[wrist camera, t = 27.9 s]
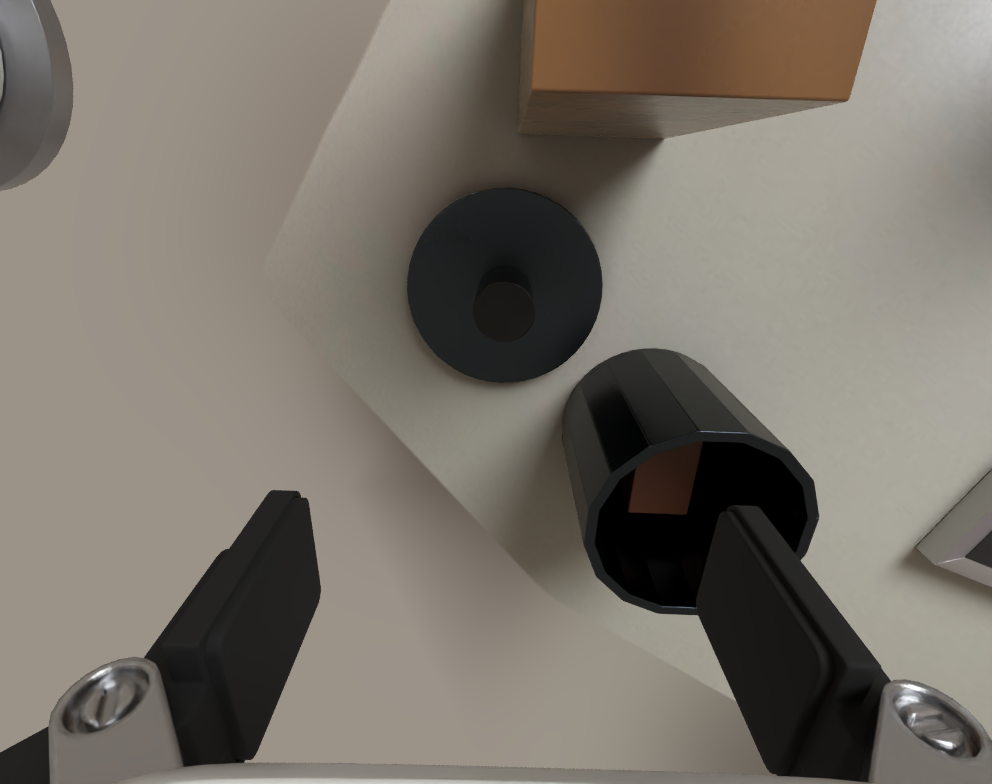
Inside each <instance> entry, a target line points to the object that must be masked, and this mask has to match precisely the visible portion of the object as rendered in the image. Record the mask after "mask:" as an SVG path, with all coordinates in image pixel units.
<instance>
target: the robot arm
mask: <svg viewBox="0 0 992 784" xmlns="http://www.w3.org/2000/svg"><path fill="white" fill-rule="evenodd" d="M3 82H4V70H3V61H2V53H1V49H0V101H1V98H2V95H3ZM320 593H321V586H320V578H319V571H318V565H317V557H316V550H315V543H314V536H313V529H312V522H311V516H310V508H309V502H308V499H307V498H301V495H300V493H299V492H298V491H282V490H272V491H270V492H269V493H268V495H267V496H266V497H265V499H264V500H263V502H262V503H261V504H260V506H259V507H258V509H257V510H256V511H255V513H254V514H253V516H252V517H251V519H250V520H249V521H248V523H247V524H246V526H245V527H244V528H243V530H242V532H241V533H240V534H239V536H238V537H237V538H236V540H235V541H234V543H233V544H232V546H231V547H230V548H229V549H226V550H224V551H222V552H221V553H220V554H219V555H218V556H217V557H216V559H215V560H214V562H213V563H212V564H211V566H210V567H209V569H208V570H207V571H206V572H205V574H204V575H203V577H202V578H201V579H200V581H199V582H198V584H197V585H196V586H195V588H194V589H193V590H192V592H191V593H190V595H189V596H188V597H187V599H186V600H185V602H184V603H183V604H182V606H181V607H180V608H179V610H178V611H177V613H176V614H175V615H174V617H173V618H172V620H171V621H170V622H169V624H168V625H167V627H166V628H165V629H164V631H163V632H162V633H161V635H160V636H159V638H158V639H157V640H156V642H155V643H154V645H153V646H152V647H151V649H150V650H149V651H148V653H147V654H146V656H145V657H144V658H138V657H132V658H125V659H119V660H116V661H113V662H110V663H108V664H105V665H102V666H100V667H99V668H97V669H95V670H93V671H91V672H90V673H88V674H86V675H85V676H84V677H82V678H81V679H80V680H79V681H77V682H76V683H75V684H73V685H72V686H71V687H70V688H69V689H68V690H67V691H66V693H64V695H63V696H62V697H61V698H60V699H59V701H58V702H57V704H56V706H55V707H54V709H53V711H52V712H51V716H50V721H49V726H48V727H46V728H45V729H43V730H41V731H39V732H37V733H36V734H34V735H32V736H30V737H28V738H26V739H24V740H23V741H21V742H19V743H17V744H15V745H13V746H11V747H10V748H8V749H6V750H4V751H2V752H0V784H992V740H991V738H990V737H989V735H988V734H987V732H986V731H985V729H984V728H983V726H982V725H981V724H980V723H979V722H978V720H977V719H976V718H975V717H974V716H973V715H972V714H971V713H970V712H969V711H968V710H966V709H965V708H964V707H963V706H961V705H960V704H959V703H958V702H956V701H955V700H954V699H952V698H951V697H949V696H947V695H945V694H944V693H942V692H940V691H939V690H937V689H935V688H932V687H930V686H927V685H925V684H923V683H920V682H915V681H910V680H893V681H891V680H890V679H889V678H888V677H887V675H886V674H885V673H884V671H883V670H882V669H881V665H880V664H879V663H878V661H877V660H876V659H875V658H874V656H873V655H872V654H871V652H870V651H869V650H868V648H867V647H866V646H865V645H864V643H863V642H862V641H861V639H860V638H859V637H858V635H857V634H856V633H855V631H854V630H853V629H852V628H851V626H850V625H849V624H848V622H847V621H846V620H845V618H844V617H843V616H842V614H841V613H840V612H839V611H838V609H837V608H836V607H835V605H834V604H833V603H832V601H831V600H830V599H829V598H828V596H827V595H826V594H825V592H824V591H823V590H822V588H821V587H820V586H819V584H818V583H817V582H816V581H815V579H814V578H813V577H812V575H811V574H810V573H809V571H808V570H807V569H806V567H805V566H804V565H803V564H802V562H801V561H800V560H799V558H798V557H797V556H796V554H795V553H794V552H793V551H792V549H791V548H790V547H789V545H788V544H787V543H786V541H785V540H784V539H783V537H782V536H781V535H780V534H779V532H778V531H777V530H776V528H775V527H774V526H773V524H772V523H771V522H770V520H769V519H768V518H767V517H766V515H765V514H764V513H763V511H762V510H761V509H760V508H759V507H757V506H739V505H731V506H729V507H728V508H727V510H726V512H725V511H723V512H721V513H720V514H719V517H718V521H717V524H716V528H715V532H714V535H713V539H712V543H711V546H710V550H709V554H708V557H707V561H706V565H705V569H704V572H703V576H702V580H701V583H700V587H699V591H698V594H697V599H696V608H697V613H698V616H699V618H700V620H701V623H702V625H703V627H704V629H705V632H706V634H707V636H708V638H709V641H710V643H711V645H712V647H713V650H714V652H715V654H716V656H717V659H718V661H719V663H720V665H721V668H722V670H723V672H724V674H725V677H726V679H727V681H728V683H729V686H730V688H731V690H732V692H733V694H734V697H735V699H736V701H737V703H738V706H739V708H740V710H741V712H742V715H743V717H744V719H745V721H746V724H747V726H748V728H749V730H750V732H751V735H752V737H753V739H754V742H755V744H756V746H757V748H758V751H759V753H760V755H761V757H762V760H763V762H764V764H765V766H766V768H767V769H768V770H769V772H770V773H772V774H777V776H770V775H751V774H750V775H749V774H724V773H692V772H662V771H631V770H600V769H599V770H598V769H561V768H527V767H489V766H488V767H486V766H448V765H447V766H445V765H401V764H399V765H398V764H353V763H244V761H245V760H251V759H253V758H254V756H255V755H256V753H257V751H258V748H259V746H260V744H261V741H262V739H263V737H264V734H265V732H266V729H267V727H268V725H269V722H270V720H271V717H272V715H273V712H274V710H275V707H276V705H277V702H278V700H279V698H280V695H281V693H282V690H283V688H284V686H285V683H286V681H287V678H288V676H289V674H290V671H291V669H292V666H293V664H294V661H295V659H296V657H297V654H298V652H299V649H300V647H301V644H302V642H303V640H304V637H305V635H306V632H307V630H308V627H309V625H310V622H311V620H312V618H313V615H314V613H315V610H316V608H317V606H318V603H319V599H320Z"/></svg>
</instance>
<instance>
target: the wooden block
mask: <svg viewBox="0 0 992 784" xmlns="http://www.w3.org/2000/svg"><path fill="white" fill-rule="evenodd" d="M876 1H877V0H524V4H523V27H522V49H521V72H520V95H519V118H518V133H519V134H540V135H569V136H599V137H628V138H657V139H665V138H670V137H675V136H680V135H685V134H690V133H695V132H700V131H705V130H710V129H714V128H719V127H724V126H729V125H734V124H739V123H744V122H749V121H754V120H759V119H764V118H769V117H774V116H779V115H783V114H788V113H793V112H798V111H803V110H808V109H813V108H818V107H823V106H828V105H833V104H838V103H843V102H846V101H848V100H849V98H850V95H851V91H852V88H853V84H854V80H855V77H856V73H857V69H858V66H859V62H860V59H861V55H862V51H863V48H864V44H865V41H866V37H867V33H868V30H869V26H870V22H871V19H872V15H873V12H874V8H875V4H876Z"/></svg>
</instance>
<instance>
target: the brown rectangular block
mask: <svg viewBox="0 0 992 784" xmlns="http://www.w3.org/2000/svg"><path fill="white" fill-rule="evenodd" d="M702 445H703V441H698V442H695V443H692V444H688V445H685V446H682V447H678V448H675V449H672V450H668V451H665V452H661V453H658V454H655V455H654V456H652V457H651V458H649V459H648V460H647V461H645V462H644V463H642V464H641V465H640V466H638V467H637V468H635V469H634V470H633V471H631V472H630V473H628V474H627V475H626V476H624V477H623V478H621V479H620V480H619V482H618V485H619V488H620V491H621V494H622V497H623V499H624V502H625V505H626V508H627V511H628V512H629V513H653V514H679V515H686V514H687V511H688V506H689V502H690V497H691V493H692V489H693V484H694V480H695V476H696V471H697V467H698V462H699V458H700V454H701V449H702Z"/></svg>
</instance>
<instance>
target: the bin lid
mask: <svg viewBox="0 0 992 784" xmlns="http://www.w3.org/2000/svg"><path fill="white" fill-rule="evenodd" d="M407 290H408V300H409V305H410V309H411V314H412V316H413V319H414V322H415V324H416V327H417V328H418V330H419V332H420V334H421V336H422V338H423V339H424V340H425V342H426V343H427V345H428V346H429V347H430V348H431V349H432V350H433V352H434V353H435V354H436V355H437V356H438V357H439V358H441V359H442V360H443V361H444V362H445V363H447V364H448V365H450V366H451V367H453V368H454V369H456V370H458V371H460V372H462V373H464V374H466V375H468V376H471V377H474V378H477V379H480V380H485V381H490V382H500V383H505V382H519V381H525V380H529V379H532V378H536V377H539V376H541V375H543V374H546V373H548V372H550V371H552V370H553V369H555V368H557V367H558V366H560V365H561V364H563V363H564V362H565V361H567V360H568V359H569V358H570V357H571V356H572V355H573V354H574V353H575V352H576V351H577V350H578V349H579V348H580V346H581V345H582V344H583V343H584V341H585V340H586V338H587V337H588V335H589V333H590V332H591V330H592V328H593V325H594V323H595V321H596V318H597V315H598V312H599V309H600V304H601V298H602V271H601V266H600V262H599V258H598V255H597V252H596V249H595V247H594V244H593V243H592V241H591V239H590V237H589V235H588V233H587V232H586V231H585V229H584V228H583V226H582V225H581V224H580V222H579V221H578V220H577V219H576V218H575V217H574V216H573V215H572V214H571V213H570V212H568V211H567V210H566V209H565V208H563V207H562V206H561V205H559V204H558V203H556V202H554V201H553V200H551V199H549V198H547V197H545V196H542V195H540V194H538V193H535V192H531V191H527V190H523V189H515V188H494V189H488V190H483V191H479V192H476V193H473V194H470V195H468V196H466V197H463V198H461V199H459V200H457V201H456V202H454V203H453V204H451V205H450V206H448V207H447V208H445V209H444V210H443V211H442V212H441V213H440V214H439V215H437V216H436V217H435V218H434V219H433V221H432V222H431V223H430V224H429V225H428V227H427V228H426V229H425V231H424V232H423V234H422V235H421V237H420V239H419V241H418V243H417V245H416V247H415V249H414V252H413V255H412V258H411V262H410V266H409V272H408V287H407Z"/></svg>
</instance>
